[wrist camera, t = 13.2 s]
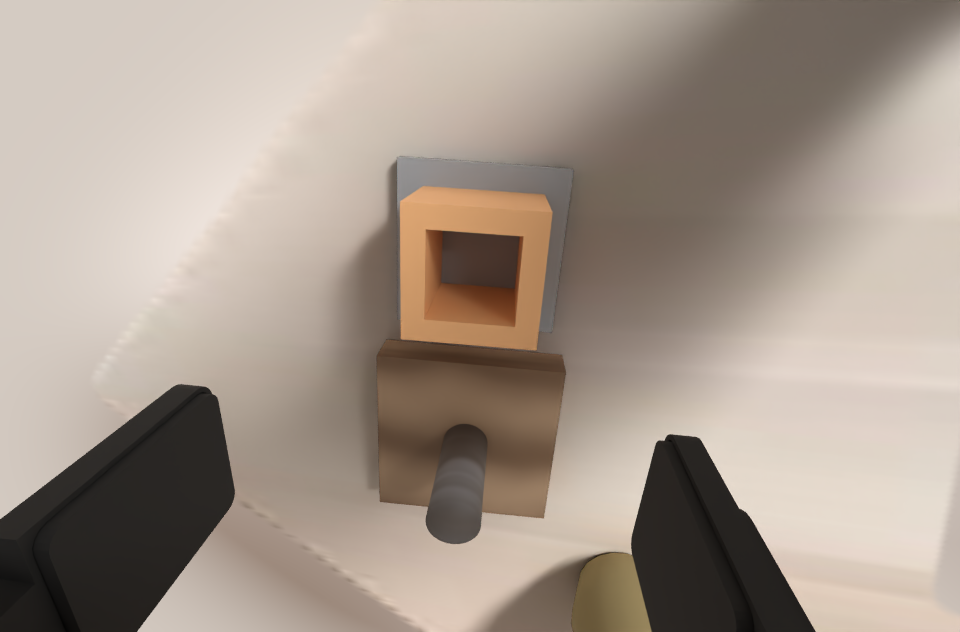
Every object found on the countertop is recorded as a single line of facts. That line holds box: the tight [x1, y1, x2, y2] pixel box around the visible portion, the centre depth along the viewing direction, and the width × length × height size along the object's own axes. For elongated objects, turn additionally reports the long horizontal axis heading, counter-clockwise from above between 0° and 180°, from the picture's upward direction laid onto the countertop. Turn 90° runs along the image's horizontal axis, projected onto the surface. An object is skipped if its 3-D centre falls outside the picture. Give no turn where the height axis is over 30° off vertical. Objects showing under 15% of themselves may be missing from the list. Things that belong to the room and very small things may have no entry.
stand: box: [377, 339, 566, 544], centre depth 30 cm, size 12×12×10 cm
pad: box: [397, 156, 574, 333], centre depth 29 cm, size 10×10×1 cm
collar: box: [400, 186, 553, 350], centre depth 25 cm, size 7×7×6 cm
